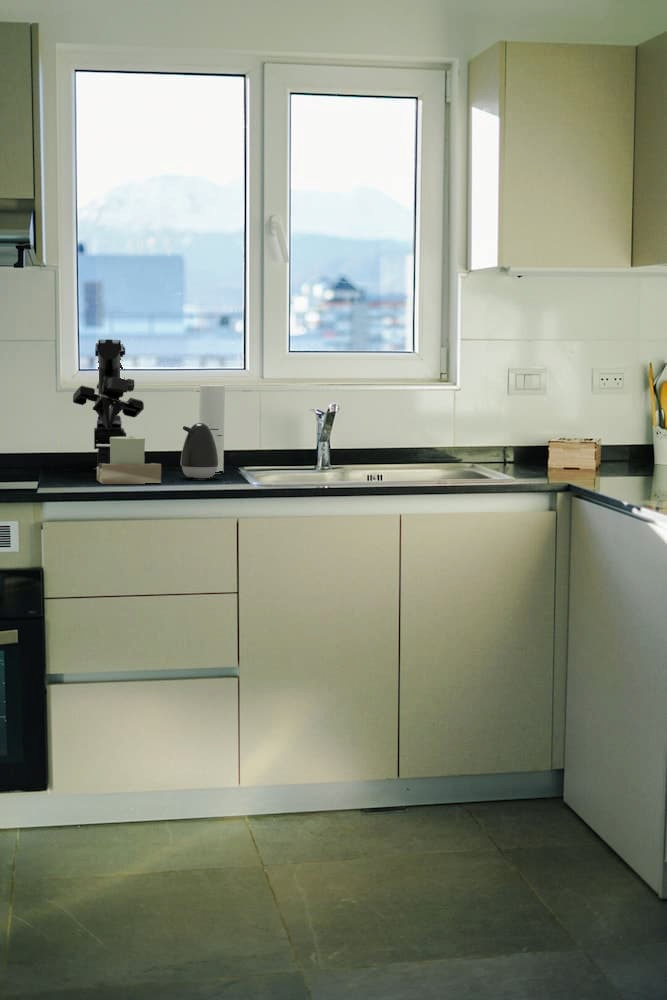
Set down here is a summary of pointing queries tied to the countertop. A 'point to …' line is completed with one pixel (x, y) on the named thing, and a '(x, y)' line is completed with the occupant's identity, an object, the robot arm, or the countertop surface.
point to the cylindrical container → (213, 416)
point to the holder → (129, 473)
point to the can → (127, 450)
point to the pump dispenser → (199, 452)
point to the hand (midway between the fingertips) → (108, 428)
